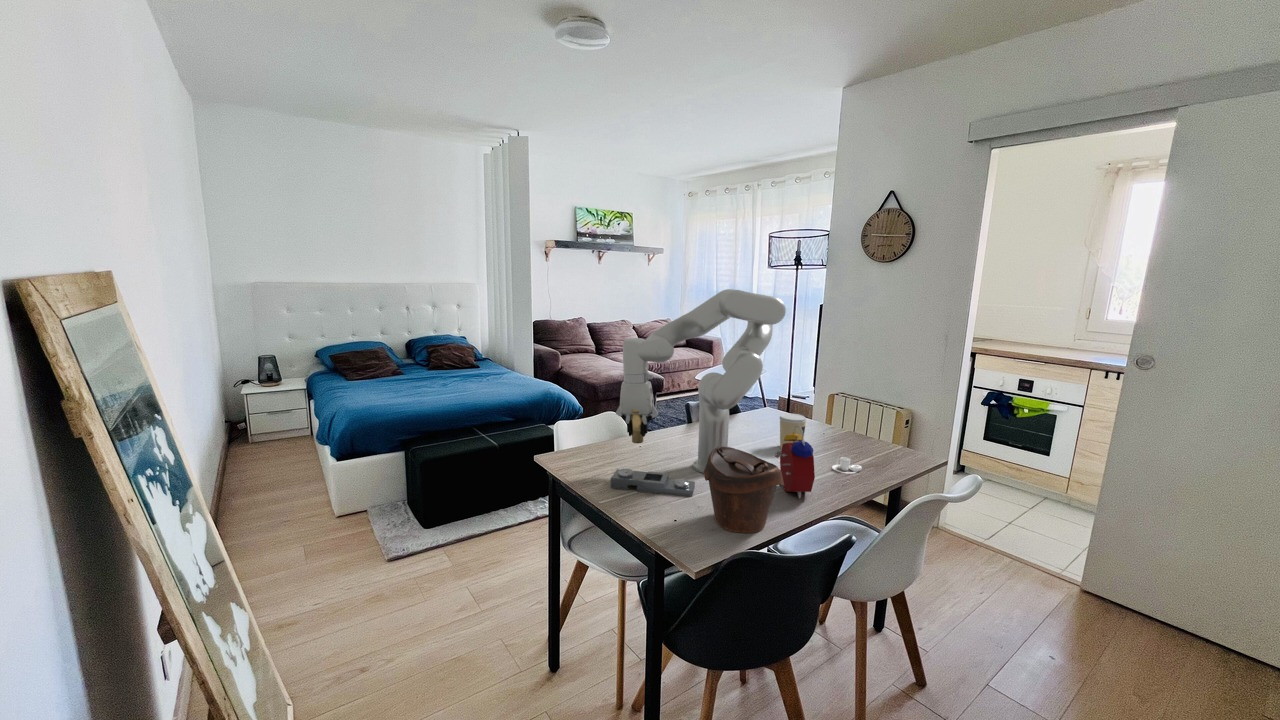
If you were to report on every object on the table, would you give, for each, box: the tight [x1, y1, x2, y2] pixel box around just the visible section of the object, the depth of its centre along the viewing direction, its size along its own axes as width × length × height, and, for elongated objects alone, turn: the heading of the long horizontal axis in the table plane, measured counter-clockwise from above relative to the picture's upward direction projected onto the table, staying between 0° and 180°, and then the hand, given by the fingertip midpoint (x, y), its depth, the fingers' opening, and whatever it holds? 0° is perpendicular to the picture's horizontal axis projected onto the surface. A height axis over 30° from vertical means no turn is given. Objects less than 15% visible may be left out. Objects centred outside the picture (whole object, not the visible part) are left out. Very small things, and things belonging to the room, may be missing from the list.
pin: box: [631, 410, 644, 444], centre depth 160 cm, size 5×5×11 cm
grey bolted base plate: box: [610, 468, 696, 497], centre depth 151 cm, size 24×8×4 cm, turn 78°
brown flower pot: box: [703, 446, 784, 534], centre depth 129 cm, size 18×20×18 cm
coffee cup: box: [779, 413, 807, 449], centre depth 187 cm, size 9×9×12 cm
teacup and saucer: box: [831, 456, 863, 475], centre depth 168 cm, size 9×8×4 cm
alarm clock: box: [774, 426, 816, 499], centre depth 149 cm, size 15×9×20 cm, turn 179°
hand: (637, 434), depth 161 cm, fingers closed on pin, 3 cm apart
